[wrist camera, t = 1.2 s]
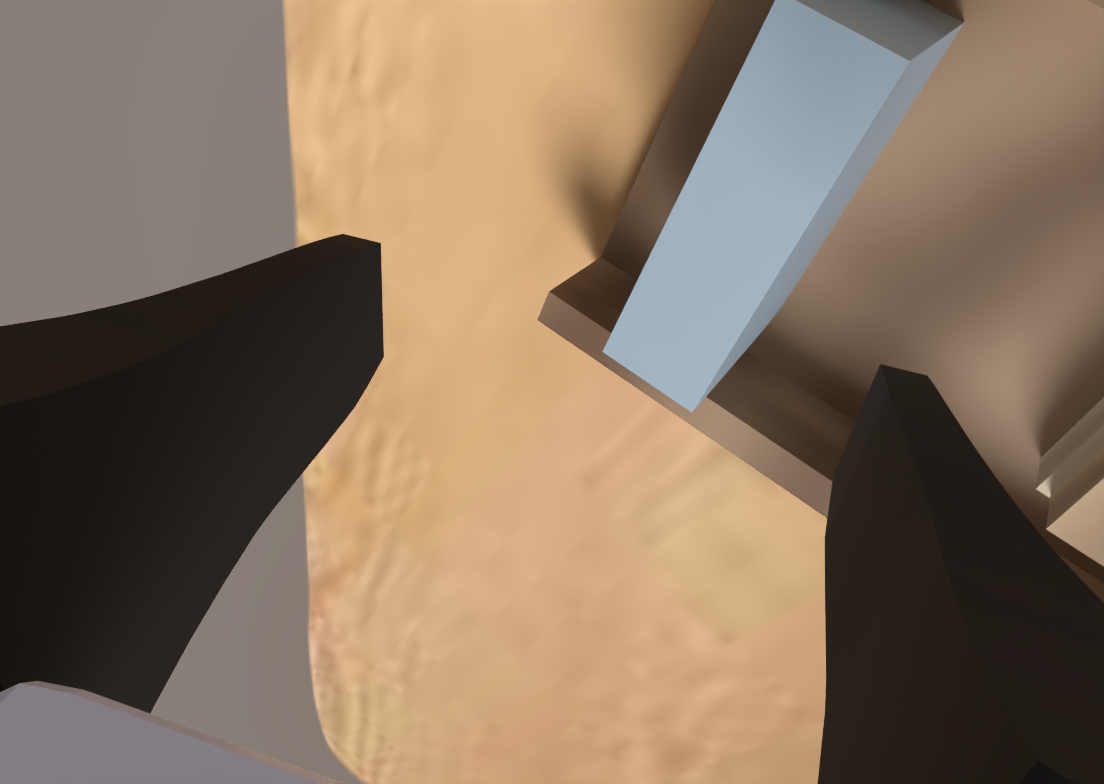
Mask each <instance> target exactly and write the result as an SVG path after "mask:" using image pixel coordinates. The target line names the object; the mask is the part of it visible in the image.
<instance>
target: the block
mask: <svg viewBox="0 0 1104 784" xmlns="http://www.w3.org/2000/svg"><path fill="white" fill-rule="evenodd" d="M963 24H964V22H963V21H961V20H959V19H957V18H955V17H953V16H951V15H949V14H947V13H945V12H943V11H941V10H939V9H938V8H936V7H934V6H932V5H930V4H928V3H926V2H924V1H922V0H775V2H774V4H773V6H772V8H771V10H770V12H769V14H768V16H767V18H766V20H765V22H764V24H763V26H762V28H761V30H760V32H759V34H758V36H757V38H756V40H755V42H754V44H753V46H752V48H751V50H750V52H749V54H748V56H747V59H746V61H745V63H744V65H743V67H742V69H741V71H740V73H739V75H738V77H737V79H736V81H735V83H734V85H733V87H732V89H731V91H730V93H729V95H728V97H727V99H726V101H725V103H724V105H723V107H722V109H721V111H720V113H719V115H718V118H717V120H716V122H715V124H714V126H713V128H712V130H711V132H710V134H709V136H708V138H707V140H706V142H705V144H704V146H703V148H702V150H701V152H700V154H699V156H698V158H697V160H696V162H695V164H694V166H693V168H692V170H691V172H690V175H689V177H688V179H687V181H686V183H685V185H684V187H683V189H682V191H681V193H680V195H679V197H678V199H677V201H676V203H675V205H674V207H673V209H672V211H671V213H670V215H669V217H668V219H667V221H666V223H665V225H664V227H663V229H662V232H661V234H660V236H659V238H658V240H657V242H656V244H655V246H654V248H653V250H652V252H651V254H650V256H649V258H648V260H647V262H646V264H645V266H644V268H643V270H642V272H641V274H640V276H639V278H638V280H637V282H636V284H635V286H634V288H633V291H632V293H631V295H630V297H629V299H628V301H627V303H626V305H625V307H624V309H623V311H622V313H621V315H620V317H619V319H618V321H617V323H616V325H615V327H614V329H613V331H612V333H611V335H610V337H609V339H608V341H607V343H606V345H605V348H604V350H603V353H605V354H606V355H608V356H609V357H611V358H612V359H614V360H615V361H617V362H618V363H620V364H621V365H623V366H624V367H626V368H627V369H629V370H630V371H631V372H633V373H634V374H636V375H637V376H639V377H640V378H642V379H643V380H645V381H646V382H648V383H649V384H651V385H652V386H654V387H655V388H656V389H658V390H659V391H661V392H662V393H664V394H665V395H667V396H668V397H670V398H671V399H673V400H674V401H676V402H677V403H679V404H680V405H682V406H683V407H684V408H686V409H687V410H689V411H690V412H693V411H694V410H695V409H696V408H697V407H698V405H699V404H700V403H701V402H702V401H703V400H704V398H705V397H706V396H707V395H708V394H709V393H710V391H711V390H712V389H713V388H714V387H715V386H716V384H717V383H718V382H719V381H720V380H721V379H722V378H723V376H724V375H725V374H726V373H727V372H728V371H729V369H730V368H731V367H732V366H733V365H734V364H735V362H736V361H737V360H738V359H739V358H740V357H741V355H742V354H743V353H744V352H745V351H746V350H747V348H748V347H749V346H750V345H751V344H752V343H753V341H754V340H755V339H756V338H757V337H758V336H759V335H760V333H761V332H762V331H763V330H764V329H765V328H766V326H767V325H768V324H769V323H770V322H771V321H772V319H773V318H774V317H775V316H776V315H777V314H778V312H779V311H780V309H781V307H782V306H783V304H784V303H785V301H786V300H787V298H788V296H789V295H790V293H791V292H792V290H793V289H794V287H795V286H796V284H797V282H798V281H799V279H800V278H801V276H802V275H803V273H804V272H805V270H806V268H807V267H808V265H809V264H810V262H811V261H812V259H813V258H814V256H815V254H816V253H817V251H818V250H819V248H820V247H821V245H822V244H823V242H824V240H825V239H826V237H827V236H828V234H829V233H830V231H831V230H832V228H833V226H834V225H835V223H836V222H837V220H838V219H839V217H840V215H841V214H842V212H843V211H844V209H845V208H846V206H847V205H848V203H849V201H850V200H851V198H852V197H853V195H854V194H855V192H856V191H857V189H858V187H859V186H860V184H861V183H862V181H863V180H864V178H865V177H866V175H867V173H868V172H869V170H870V169H871V167H872V166H873V164H874V163H875V161H876V159H877V158H878V156H879V155H880V153H881V152H882V150H883V149H884V147H885V145H886V144H887V142H888V141H889V139H890V138H891V136H892V134H893V133H894V131H895V130H896V128H897V127H898V125H899V124H900V122H901V120H902V119H903V117H904V116H905V114H906V113H907V111H908V110H909V108H910V106H911V105H912V103H913V102H914V100H915V99H916V97H917V96H918V94H919V92H920V91H921V89H922V88H923V86H924V85H925V83H926V82H927V80H928V78H929V77H930V75H931V74H932V72H933V71H934V69H935V68H936V66H937V64H938V63H939V61H940V60H941V58H942V57H943V55H944V53H945V52H946V50H947V49H948V47H949V46H950V44H951V43H952V41H953V39H954V38H955V36H956V35H957V33H958V32H959V30H960V29H961V27H962V25H963Z"/></svg>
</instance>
